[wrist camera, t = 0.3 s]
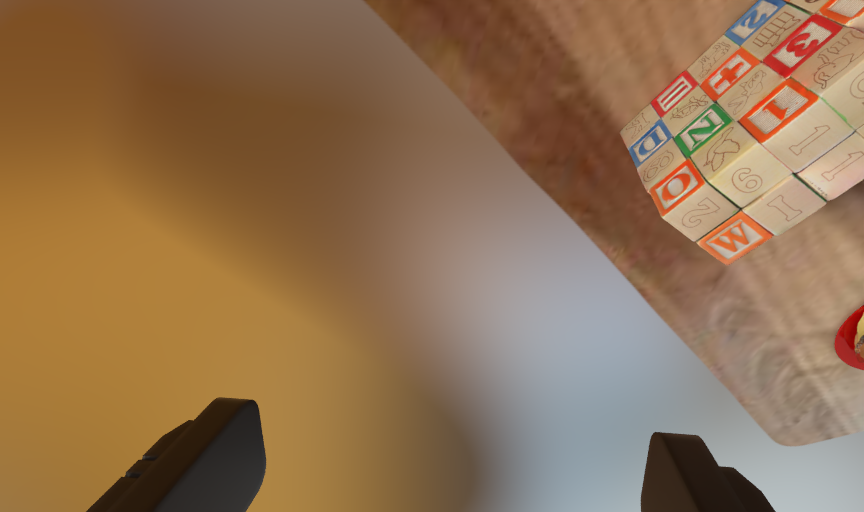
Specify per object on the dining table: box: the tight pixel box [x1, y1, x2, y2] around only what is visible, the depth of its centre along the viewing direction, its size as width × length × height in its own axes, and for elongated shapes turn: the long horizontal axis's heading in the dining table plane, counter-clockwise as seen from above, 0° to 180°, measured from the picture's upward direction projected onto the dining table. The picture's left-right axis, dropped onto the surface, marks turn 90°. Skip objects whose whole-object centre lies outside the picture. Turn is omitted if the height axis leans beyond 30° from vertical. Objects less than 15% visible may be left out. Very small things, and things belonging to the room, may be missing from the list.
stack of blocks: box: [620, 0, 864, 265], centre depth 27 cm, size 21×6×12 cm, turn 146°
